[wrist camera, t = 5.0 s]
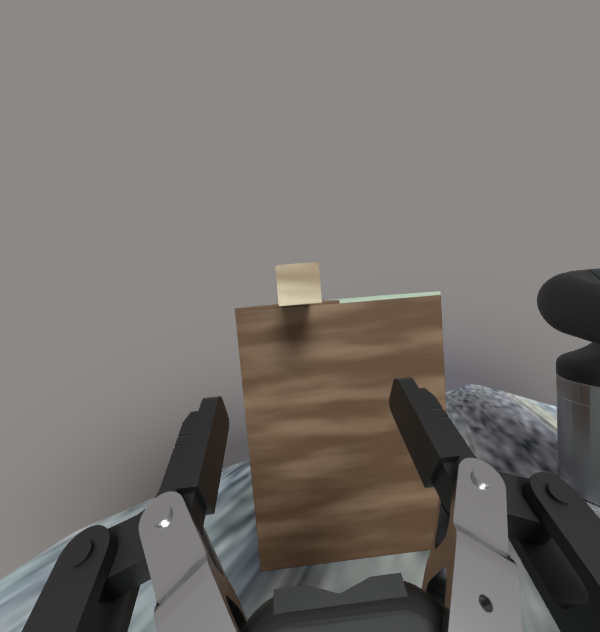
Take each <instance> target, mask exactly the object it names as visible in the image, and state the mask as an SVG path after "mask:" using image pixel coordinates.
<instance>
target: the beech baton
mask: <svg viewBox="0 0 600 632" xmlns="http://www.w3.org/2000/svg"><path fill="white" fill-rule="evenodd" d="M275 267H276V279H277V290H278V301H279V306H288V305H300V304H311V303H322V299H321V286H320V273H319V262H314V263H313V262H312V263H300V264H287V265H276V266H275Z"/></svg>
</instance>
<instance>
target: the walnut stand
mask: <svg viewBox="0 0 600 632" xmlns="http://www.w3.org/2000/svg"><path fill="white" fill-rule="evenodd" d="M235 316H236V326H237V335H238V344H239V345H238V346H239V356H240V364H241V374H242V385H243V395H244V405H245V415H246V425H247V435H248V444H249V455H250V465H251V475H252V485H253V495H254V505H255V515H256V525H257V535H258V545H259V555H260V565H261V571H266V570H274V569H282V568H290V567H298V566H306V565H314V564H322V563H329V562H337V561H345V560H353V559H361V558H369V557H377V556H385V555H392V554H400V553H408V552H416V551H424V550H431V547H432V540H433V534H434V527H435V521H436V514H437V507H438V501H439V496H438V494H437V492H436V490H435V488H434V487H429V488H425V487H424V485H423V483H422V480H421V478H420V476H419V474H418V472H417V469H416V467H415V465H414V463H413V460H412V458H411V456H410V454H409V451H408V449H407V447H406V445H405V442H404V440H403V438H402V436H401V433H400V431H399V429H398V427H397V424H396V422H395V420H394V418H393V416H392V413H391V411H390V407H389V397H390V393H391V388H392V384H393V380H394V379H397V378H407V377H411V378H413V379H414V381H415V382H416V384H417V385H418V387H419V388H426V389H427V390H428V391H429V392H431V393H432V394H433V395H434V396H435V397H436V398H437V400H438V401H439V403H440V404H441V406H442V408H443V409H444V410H445V412H446V395H445V377H444V376H445V375H444V356H443V355H444V354H443V334H442V313H441V294H440V291H438V292H424V293H409V294H396V295H382V296H370V297H358V298H348V299H347V298H346V299H334V300H322V303H311V304H300V305H288V306H279V304H276V305H263V306H252V307H244V308H237V309H235Z"/></svg>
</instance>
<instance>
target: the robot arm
mask: <svg viewBox="0 0 600 632" xmlns="http://www.w3.org/2000/svg"><path fill="white" fill-rule="evenodd" d="M537 305H538V309H539V311H540V313H541V315H542V316H543V318H544V319H545V320H546V322H547V323H548V324H550V325H551V326H552V327H553V328H555V329H556V330H558V331H561V332H563V333H566V334H569V335H572V336H575V337H579V338H582V339H585V340H588V341H591V342H592V343H590V344H589V345H587V346H585V347H583V348H580V349H578V350H575V351H571V352H568V353H565V354H562V355H561V356H559V357H558V358H557V361H556V387H557V435H558V474H559V478H558V477H557V476H554V475H552V474H549V473H544V472H538V473H535V474H533V475H532V476H531V477H530V478H529V479H528V478H523V477H519V476H514V475H510V474H506V473H501V472H498V471H496V470H495V469H494V468H493V467H492V466H490V465H489V464H487V463H486V462H484V461H482V460H479V459H477V458H476V456H475V455H474V454H473V453H472V451H471V450H470V448H469V447H468V445H467V444H466V442H465V441H464V439H463V438H462V436H461V435H460V433H459V432H458V430H457V429H456V427H455V426H454V424H453V423H452V421H451V420H450V418H448V415H447V413H446V412H445V410H444V409H443V408H442V406H441V404H440V403H439V401H438V400H437V398H436V397H435V396H434V395H433V394H432V393H431V392H429V391H428V390H427V389H426V388H419V387H418V385H417V384H416V382H415V381H414V379H413V378H411V377H407V378H397V379H394V380H393V384H392V388H391V393H390V397H389V407H390V411H391V413H392V416H393V418H394V420H395V422H396V424H397V427H398V429H399V431H400V433H401V436H402V438H403V440H404V442H405V445H406V447H407V449H408V451H409V454H410V456H411V458H412V460H413V463H414V465H415V467H416V469H417V472H418V474H419V476H420V478H421V480H422V483H423V485H424V487H425V488H429V487H434V488H435V490H436V492H437V494H438V496H439V501H438V507H437V514H436V521H435V527H434V534H433V540H432V547H431V552H430V555H429V558H428V561H427V564H426V569H425V573H424V579H423V586H422V589H421V588H419V587H417V586H416V585H413V584H411V583H409V582H406V581H403V578H402V575H401V573H396V574H388V575H381V576H373V577H369V578H367V579H366V580H364V581H362V582H360V583H359V584H357V585H355V586H353V587H352V588H350V589H348V590H346V591H345V592H343V593H339V594H338V593H333V592H329V591H326V590H322V589H318V588H314V587H310V586H306V585H305V586H297V587H289V588H282V589H274V597H273V598H271V599H269V600H268V601H266V602H265V603H264V604H263V605H261V606H260V607H259V608H258V609H257V610H256V611H255V612H254V613H253V614H252V616H251V617H250V618H249V619H248V620H247V618H246V616H245V613H244V611H243V609H242V607H241V605H240V602H239V600H238V598H237V596H236V594H235V592H234V590H233V588H232V586H231V584H230V582H229V581H228V579H227V577H226V575H225V573H224V570H223V568H222V566H221V564H220V561H219V559H218V557H217V555H216V553H215V550H214V548H213V546H212V544H211V541H210V539H209V537H208V535H207V533H206V530H205V528H204V526H203V525H204V519H205V515H209V514H214V512H215V506H216V501H217V495H218V489H219V483H220V477H221V471H222V466H223V460H224V453H225V448H226V442H227V436H228V430H229V418H228V414H227V411H226V409H225V405H224V402H223V400H222V398H221V396H220V397H209V398H203V400H202V402H201V405H200V408H199V411H196V412H191V413H190V414H189V416H188V417H187V418H186V419H185V421H184V422H183V424H182V427H181V430H180V433H179V437H178V438H177V441H176V444H175V448H174V450H173V453H172V455H171V459H170V462H169V464H168V467H167V470H166V473H165V476H164V479H163V481H162V484H161V487H160V490H159V492H158V494H157V496H156V497H155V499H154V500H152V502H151V503H150V504H149V505H148V506H147V507H146V509H144V510H143V511H142V512H141V513H139V514H138V515H136V516H134V517H132V518H130V519H128V520H126V521H124V522H122V523H119V524H117V525H115V526H113V527H111V528H109V529H107V528H106V527H104V526H102V525H95V526H91V527H89V528H87V529H85V530H83V531H82V532H80V533H79V534H78V535H76V536H75V537H74V538H73V539H72V540H71V541H70V542H69V543H68V544H67V546H66V547H65V548H64V550H63V551H62V553H61V554H60V556H59V558H58V560H57V562H56V564H55V566H54V568H53V570H52V572H51V574H50V576H49V578H48V580H47V582H46V584H45V586H44V588H43V590H42V592H41V594H40V596H39V598H38V600H37V602H36V604H35V606H34V608H33V610H32V612H31V614H30V616H29V618H28V620H27V622H26V624H25V626H24V628H23V630H22V632H127V631H128V628H129V624H130V620H131V617H132V613H133V609H134V606H135V602H136V598H137V595H138V591H139V587H140V585H141V584H143V583H144V582H146V581H148V580H150V579H151V580H152V584H153V588H154V592H155V596H156V607H155V610H154V617H155V624H156V628H157V632H523V629H522V612H521V596H520V580H519V572H518V568H517V565H516V563H515V562H514V560H512V559H511V558H510V555H509V550H508V538H509V540H510V542H511V543H512V545H513V547H514V549H515V550H516V552H517V554H518V556H519V558H520V559H521V561H522V563H523V565H524V567H525V568H526V570H527V572H528V574H529V576H530V577H531V579H532V581H533V583H534V585H535V586H536V588H537V590H538V592H539V593H540V595H541V597H542V599H543V601H544V602H545V604H546V606H547V608H548V610H549V611H550V613H551V615H552V617H553V619H554V620H555V622H556V624H557V626H558V628H559V629H560V631H561V632H600V519H599V517H598V516H597V515H596V514H595V513H594V511H593V510H592V509H591V508H590V507H589V506H588V504H587V503H586V502H585V501H584V500H583V499H585V500H587V501H589V502H591V503H593V504H596V505H598V506H600V269H589V270H578V271H570V272H567V273H562V274H559V275H556V276H554V277H552V278H551V279H549V280H548V281H547V282H546V283H545V284H543V286H542V287H541V289H540V290H539V293H538V296H537Z"/></svg>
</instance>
